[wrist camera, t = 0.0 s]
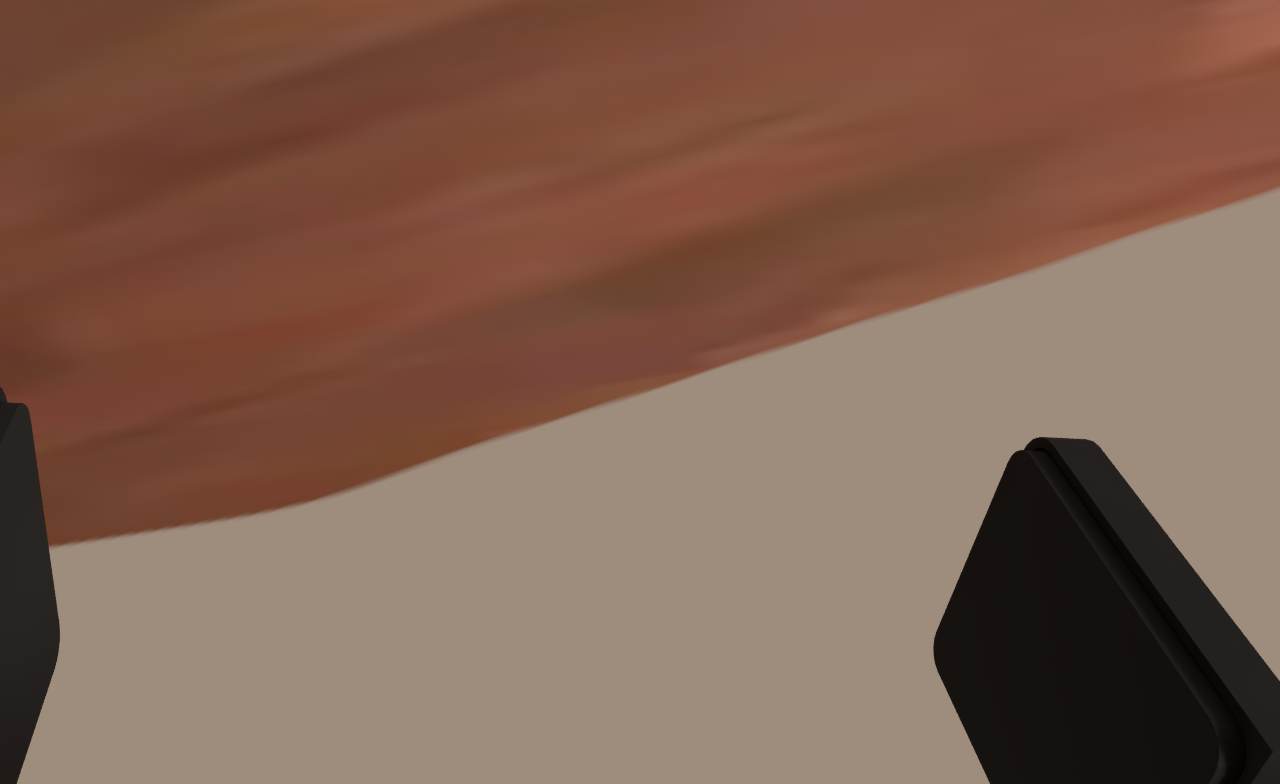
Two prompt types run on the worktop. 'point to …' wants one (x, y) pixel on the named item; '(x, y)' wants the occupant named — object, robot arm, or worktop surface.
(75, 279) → the worktop surface
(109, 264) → the worktop surface
